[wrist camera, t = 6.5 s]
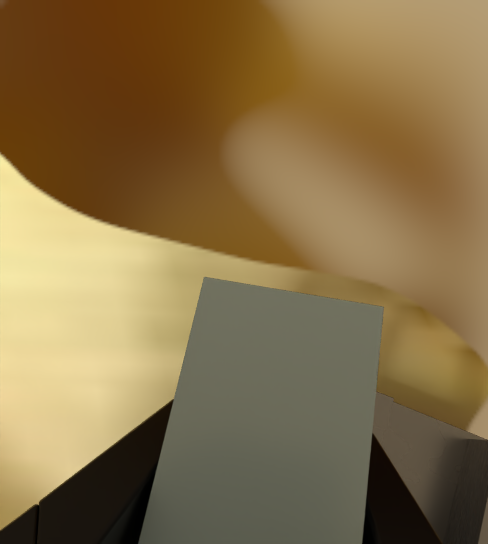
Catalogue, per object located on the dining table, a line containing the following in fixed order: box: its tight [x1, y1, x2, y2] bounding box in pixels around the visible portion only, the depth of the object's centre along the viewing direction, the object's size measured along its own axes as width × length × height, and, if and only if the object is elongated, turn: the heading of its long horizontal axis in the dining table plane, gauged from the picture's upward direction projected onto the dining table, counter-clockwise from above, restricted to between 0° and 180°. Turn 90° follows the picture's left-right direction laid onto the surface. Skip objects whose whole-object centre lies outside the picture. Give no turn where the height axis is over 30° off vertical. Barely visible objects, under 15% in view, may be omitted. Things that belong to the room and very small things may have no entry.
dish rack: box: [372, 392, 488, 544], centre depth 18 cm, size 9×16×4 cm, turn 67°
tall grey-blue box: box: [138, 277, 384, 544], centre depth 10 cm, size 7×3×9 cm, turn 169°
